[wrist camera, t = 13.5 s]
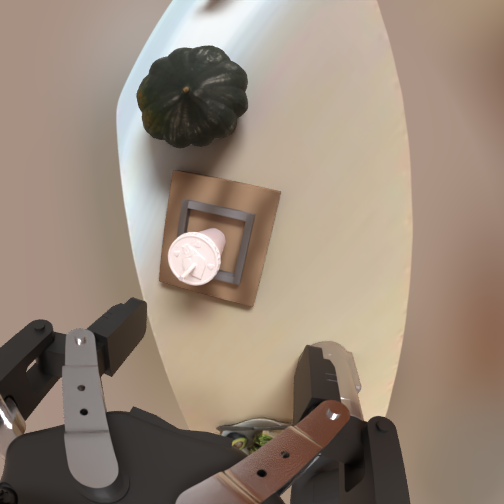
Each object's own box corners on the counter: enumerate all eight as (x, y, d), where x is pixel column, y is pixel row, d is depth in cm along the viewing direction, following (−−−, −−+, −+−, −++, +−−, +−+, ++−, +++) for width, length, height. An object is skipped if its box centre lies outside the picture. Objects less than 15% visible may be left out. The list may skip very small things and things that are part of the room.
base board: (281, 191, 40) (280, 193, 37) (254, 301, 45) (252, 311, 42) (178, 170, 41) (169, 170, 37) (163, 276, 46) (155, 284, 43)
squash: (134, 60, 31) (101, 100, 23) (230, 24, 29) (237, 45, 21) (170, 128, 43) (157, 185, 35) (254, 101, 41) (269, 152, 32)
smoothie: (203, 266, 43) (167, 308, 29) (186, 228, 41) (141, 255, 28) (241, 252, 41) (218, 292, 28) (224, 212, 40) (192, 233, 26)
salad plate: (277, 400, 52) (276, 416, 48) (317, 438, 55) (318, 452, 50) (209, 424, 57) (205, 438, 53) (253, 457, 60) (251, 470, 56)
